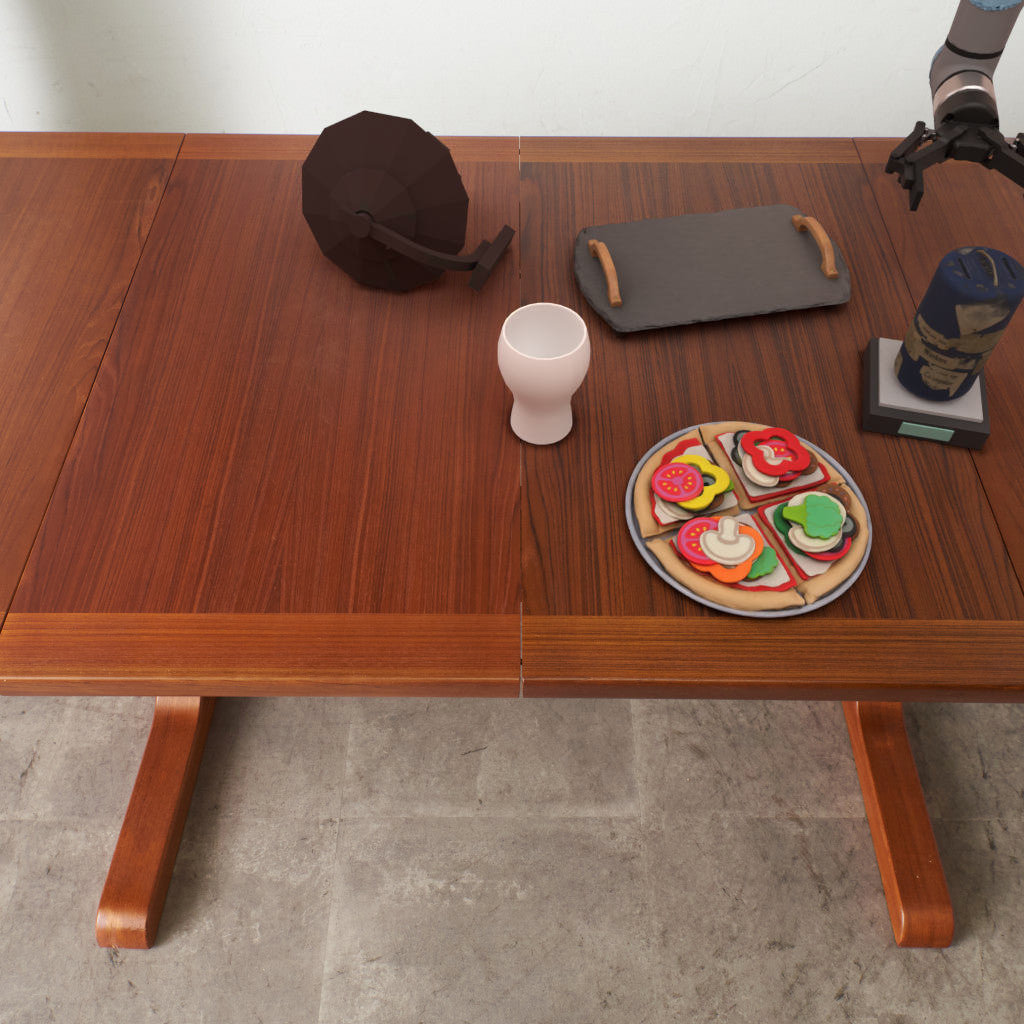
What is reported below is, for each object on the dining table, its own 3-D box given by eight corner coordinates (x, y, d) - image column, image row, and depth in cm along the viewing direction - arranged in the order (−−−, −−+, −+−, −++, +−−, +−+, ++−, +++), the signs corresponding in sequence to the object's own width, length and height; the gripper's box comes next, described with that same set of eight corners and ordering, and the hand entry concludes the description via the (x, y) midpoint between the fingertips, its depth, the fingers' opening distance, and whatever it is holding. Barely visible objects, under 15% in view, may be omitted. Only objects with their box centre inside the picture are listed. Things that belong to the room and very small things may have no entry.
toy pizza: (788, 404, 114) (797, 380, 110) (918, 578, 98) (933, 555, 95) (587, 462, 108) (589, 437, 105) (691, 655, 93) (698, 634, 89)
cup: (563, 382, 116) (569, 290, 104) (597, 440, 110) (607, 349, 98) (486, 404, 114) (483, 312, 102) (517, 464, 108) (517, 373, 96)
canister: (889, 399, 109) (946, 280, 95) (889, 347, 115) (943, 227, 101) (971, 413, 108) (1042, 294, 94) (967, 360, 114) (1033, 240, 99)
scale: (973, 371, 117) (984, 351, 115) (980, 451, 109) (993, 431, 106) (863, 354, 119) (871, 333, 117) (862, 431, 111) (871, 411, 108)
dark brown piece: (386, 50, 129) (304, 85, 105) (559, 156, 132) (518, 213, 108) (330, 197, 143) (247, 257, 119) (488, 289, 146) (438, 367, 122)
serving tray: (595, 350, 120) (598, 314, 115) (557, 244, 134) (559, 208, 129) (866, 313, 124) (881, 277, 119) (803, 215, 138) (814, 178, 133)
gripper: (1051, 153, 120) (1072, 249, 108) (859, 131, 124) (858, 222, 111) (1079, 99, 114) (1105, 194, 102) (876, 77, 118) (878, 167, 105)
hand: (976, 209), depth 107 cm, fingers open, 13 cm apart
